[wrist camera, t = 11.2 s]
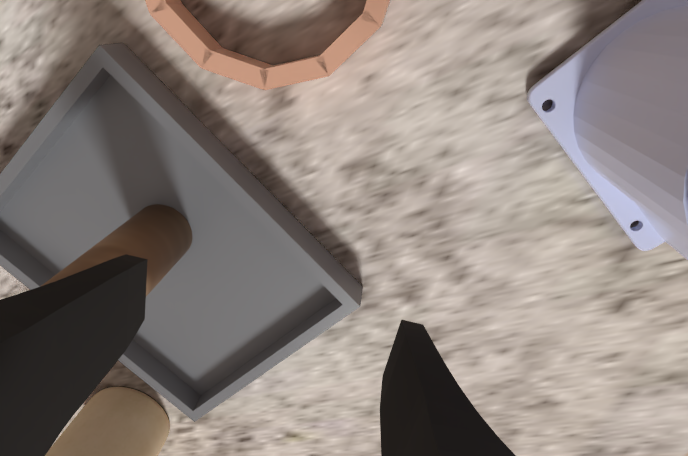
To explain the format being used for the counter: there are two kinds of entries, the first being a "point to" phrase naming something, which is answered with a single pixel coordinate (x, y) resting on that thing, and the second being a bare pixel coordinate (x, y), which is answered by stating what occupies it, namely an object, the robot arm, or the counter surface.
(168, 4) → the ring
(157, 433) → the candle
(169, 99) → the tray
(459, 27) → the counter surface
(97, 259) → the dowel
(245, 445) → the counter surface
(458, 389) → the robot arm
